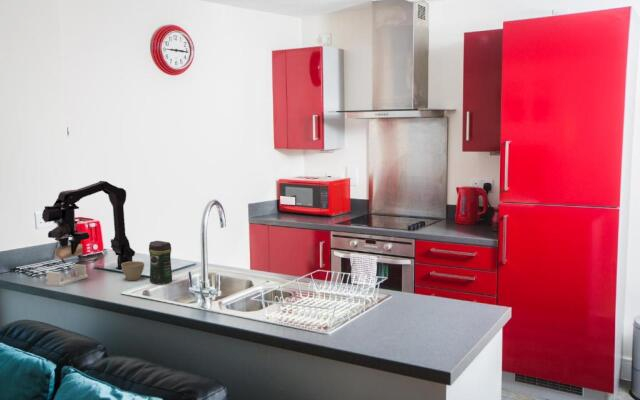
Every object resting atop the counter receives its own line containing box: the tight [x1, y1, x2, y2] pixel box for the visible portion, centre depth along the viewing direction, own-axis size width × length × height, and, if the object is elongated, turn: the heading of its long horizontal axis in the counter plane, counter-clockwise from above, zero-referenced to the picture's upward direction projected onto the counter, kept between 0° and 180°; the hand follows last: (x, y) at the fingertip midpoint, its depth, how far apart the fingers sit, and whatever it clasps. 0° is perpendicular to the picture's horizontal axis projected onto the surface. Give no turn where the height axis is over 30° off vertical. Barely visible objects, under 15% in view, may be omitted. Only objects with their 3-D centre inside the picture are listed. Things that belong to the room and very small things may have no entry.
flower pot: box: [121, 260, 145, 281], centre depth 274 cm, size 10×10×7 cm
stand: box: [45, 263, 89, 287], centre depth 271 cm, size 8×17×6 cm, turn 159°
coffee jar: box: [148, 240, 173, 285], centre depth 268 cm, size 10×8×19 cm
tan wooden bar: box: [54, 243, 83, 260], centre depth 272 cm, size 4×12×4 cm, turn 159°
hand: (69, 253), depth 272 cm, fingers closed on tan wooden bar, 4 cm apart
